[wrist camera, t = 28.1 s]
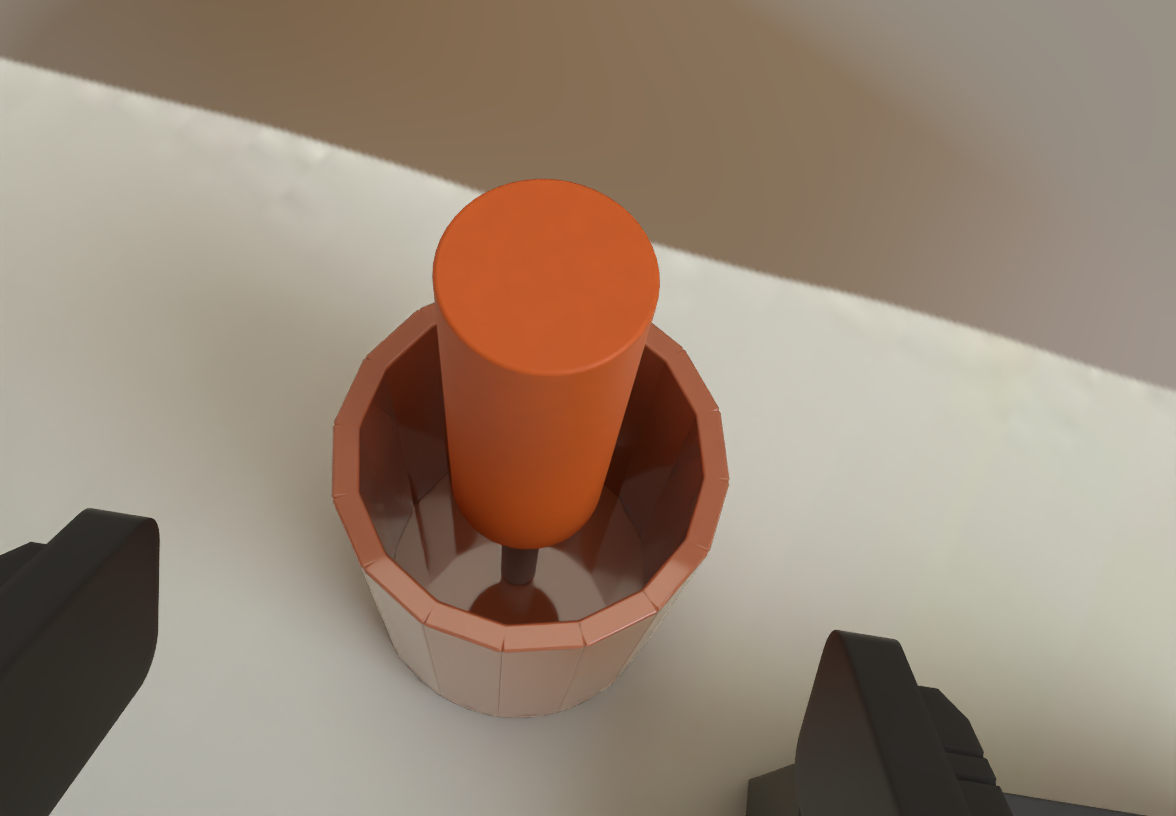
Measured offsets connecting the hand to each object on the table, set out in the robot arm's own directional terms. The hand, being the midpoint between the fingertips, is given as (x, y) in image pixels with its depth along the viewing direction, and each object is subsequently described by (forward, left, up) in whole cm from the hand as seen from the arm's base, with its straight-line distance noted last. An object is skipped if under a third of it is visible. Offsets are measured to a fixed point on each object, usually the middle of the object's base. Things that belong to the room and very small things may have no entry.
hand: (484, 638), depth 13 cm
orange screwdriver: (+3, +4, -14) cm, 15 cm away
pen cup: (+3, +4, -15) cm, 16 cm away
